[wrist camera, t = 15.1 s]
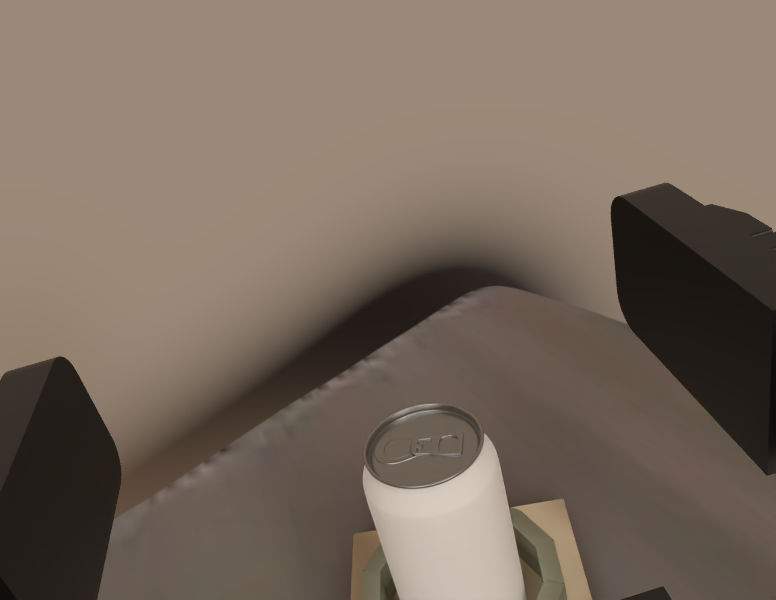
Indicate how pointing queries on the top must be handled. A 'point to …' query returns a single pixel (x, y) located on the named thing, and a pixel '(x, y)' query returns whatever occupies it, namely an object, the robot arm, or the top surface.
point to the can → (441, 506)
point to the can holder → (535, 549)
